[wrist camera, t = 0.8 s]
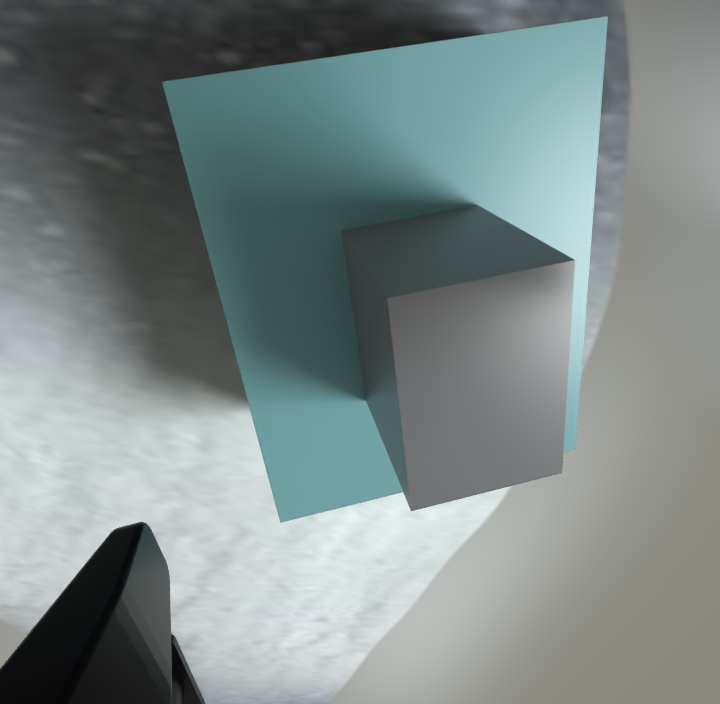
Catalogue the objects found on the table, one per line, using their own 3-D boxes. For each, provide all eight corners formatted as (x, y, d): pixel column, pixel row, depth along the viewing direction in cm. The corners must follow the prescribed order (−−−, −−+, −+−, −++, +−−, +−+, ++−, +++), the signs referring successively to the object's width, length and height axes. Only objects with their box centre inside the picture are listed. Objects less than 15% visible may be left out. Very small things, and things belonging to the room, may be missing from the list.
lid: (545, 415, 20) (668, 552, 15) (275, 480, 19) (296, 656, 13) (561, 22, 14) (779, -6, 9) (170, 79, 13) (126, 91, 7)
